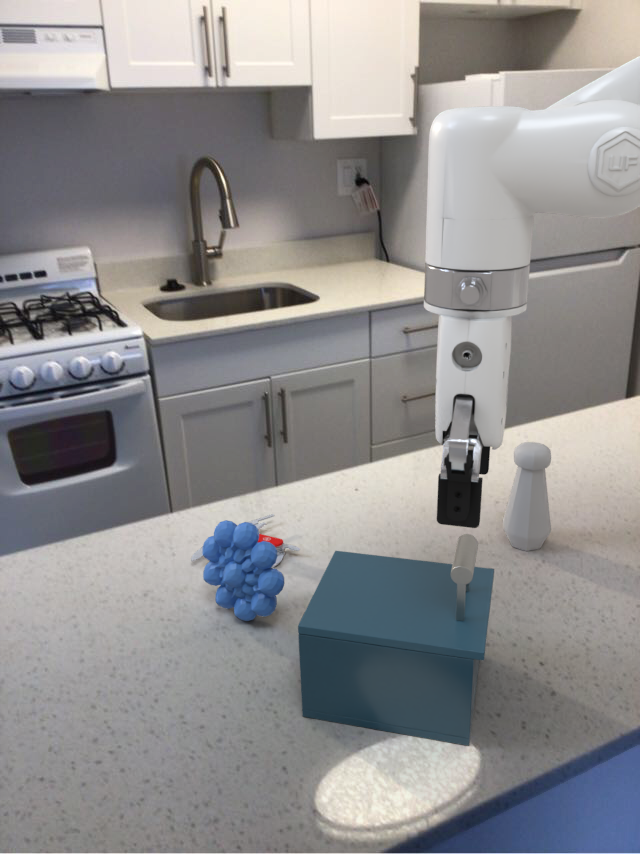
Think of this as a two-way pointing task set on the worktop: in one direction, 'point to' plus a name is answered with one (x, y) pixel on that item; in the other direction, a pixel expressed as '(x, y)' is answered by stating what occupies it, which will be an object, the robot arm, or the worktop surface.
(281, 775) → the worktop surface
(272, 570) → the grapes
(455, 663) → the teal box
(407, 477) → the worktop surface
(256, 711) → the worktop surface
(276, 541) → the swiss army knife
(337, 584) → the lid
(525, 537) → the salt shaker
